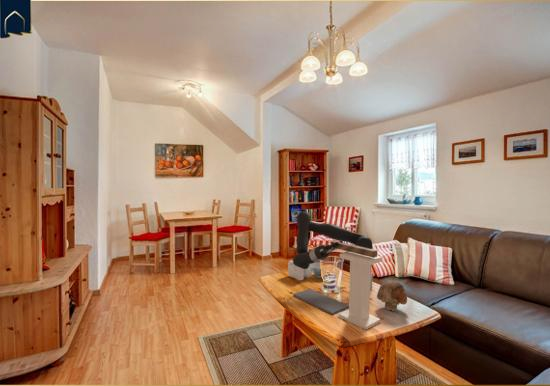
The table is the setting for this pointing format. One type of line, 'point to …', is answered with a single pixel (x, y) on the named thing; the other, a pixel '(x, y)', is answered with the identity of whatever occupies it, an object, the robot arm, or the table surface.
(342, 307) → the rubber mat
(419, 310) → the table surface
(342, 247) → the walnut bar
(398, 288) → the sculpture
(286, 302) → the table surface
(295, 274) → the cable organizer
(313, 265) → the chinaware
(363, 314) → the stand
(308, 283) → the table surface
